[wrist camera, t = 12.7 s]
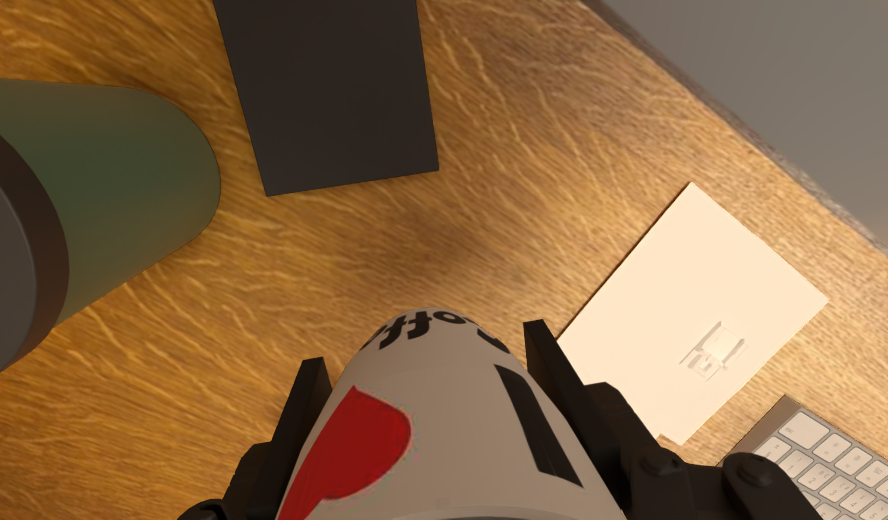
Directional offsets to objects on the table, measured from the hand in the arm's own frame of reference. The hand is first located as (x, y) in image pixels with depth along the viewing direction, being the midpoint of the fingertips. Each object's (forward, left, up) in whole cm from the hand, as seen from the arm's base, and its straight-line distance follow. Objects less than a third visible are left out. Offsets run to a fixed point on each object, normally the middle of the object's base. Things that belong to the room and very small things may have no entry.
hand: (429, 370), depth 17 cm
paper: (-17, +12, -14) cm, 25 cm away
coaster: (+3, -11, -14) cm, 18 cm away
